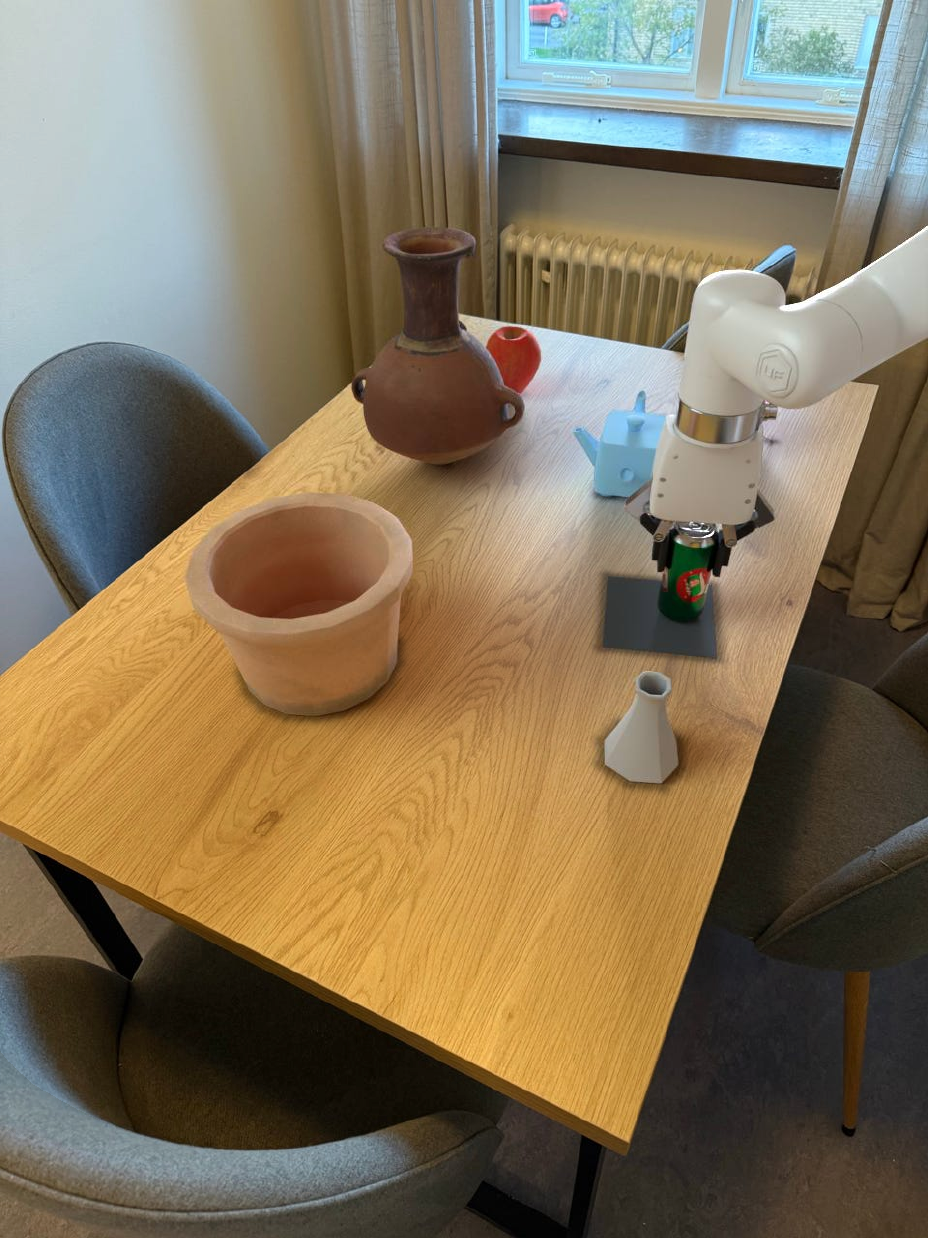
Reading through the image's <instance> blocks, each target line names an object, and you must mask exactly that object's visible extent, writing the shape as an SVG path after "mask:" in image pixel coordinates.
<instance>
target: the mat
mask: <svg viewBox="0 0 928 1238" xmlns="http://www.w3.org/2000/svg"><path fill="white" fill-rule="evenodd" d="M660 584H661V579H660V580H659V579H649V578H648V579H647V578H635V577H625V576H615V575H614V576H613V575H607V583H606V597H605V610H604V611H605V612H604V626H603V636H602V637H603V638H602V648H607V649H616V650H617V649H618V650H628V651H637V652H647V653H648V652H650V653H658V654H667V655H678V656H690V657H699V658H708V659H717V645H716V643H717V642H716V629H715V615H714V614H715V613H714V612H715V611H714V599H713V598H714V597H713V585H712V584H709V585H708V590H707V595H706V599H705V604H704V609H703V612H702V614H701V615H700V616H699V617H698V618H696V619H694V620H692V621H689V622H675V621H672V620H670V619H668V618H666V617H665V616H664V615H663V614H662V613H661V612H660V611H659V609H658V605H657V603H658V596H659V590H660Z"/></svg>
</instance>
